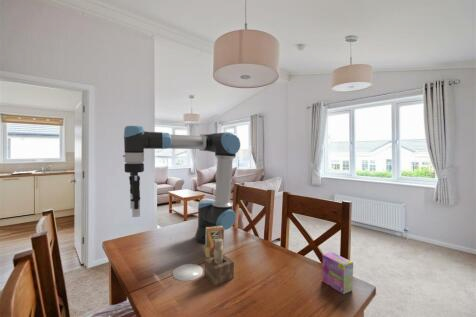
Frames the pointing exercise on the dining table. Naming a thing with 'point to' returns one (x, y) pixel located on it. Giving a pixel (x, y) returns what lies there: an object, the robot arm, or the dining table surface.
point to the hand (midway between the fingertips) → (134, 212)
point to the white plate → (187, 272)
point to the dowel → (218, 251)
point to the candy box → (212, 239)
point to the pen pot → (219, 270)
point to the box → (337, 272)
